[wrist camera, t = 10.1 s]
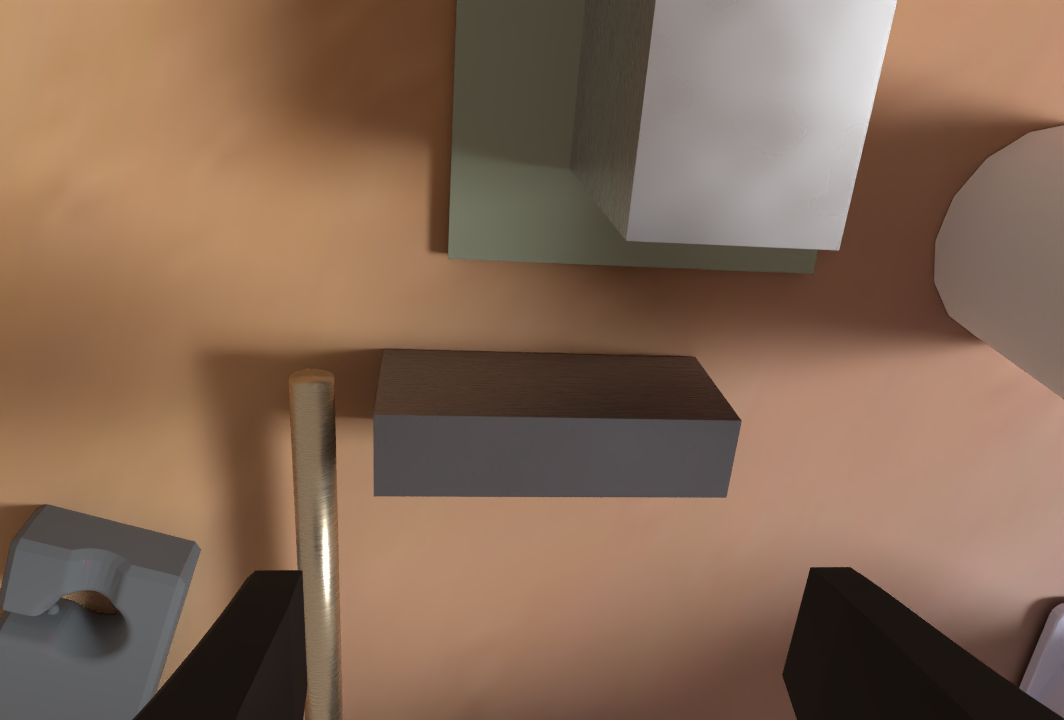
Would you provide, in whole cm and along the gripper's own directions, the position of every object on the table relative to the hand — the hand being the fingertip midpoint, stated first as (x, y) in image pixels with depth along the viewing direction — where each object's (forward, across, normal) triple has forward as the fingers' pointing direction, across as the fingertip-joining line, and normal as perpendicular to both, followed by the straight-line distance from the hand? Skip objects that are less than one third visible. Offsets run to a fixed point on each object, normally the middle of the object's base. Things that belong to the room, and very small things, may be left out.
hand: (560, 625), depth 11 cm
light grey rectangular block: (+10, -3, -9) cm, 13 cm away
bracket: (+11, +12, +10) cm, 19 cm away
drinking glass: (+10, -14, -4) cm, 17 cm away
